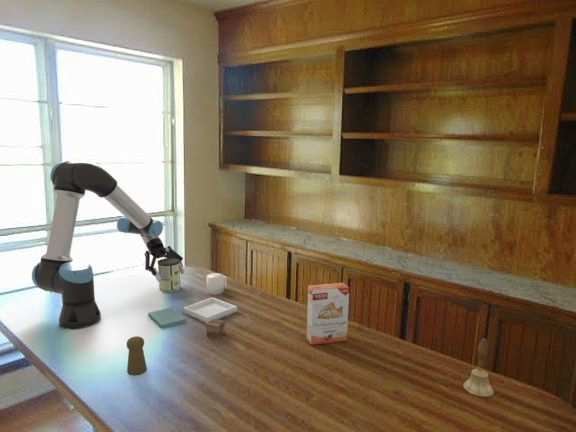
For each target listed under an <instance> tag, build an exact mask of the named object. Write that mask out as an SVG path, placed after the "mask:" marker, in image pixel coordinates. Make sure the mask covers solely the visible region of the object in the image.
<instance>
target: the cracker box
mask: <svg viewBox="0 0 576 432" xmlns="http://www.w3.org/2000/svg"><path fill="white" fill-rule="evenodd" d="M349 302H350V287H349V286H348V285H346V284H345V282H334V283H324V284H323V283H321V284H309V285H307V313H306V314H307V317H306V318H307V321H306V339H307V341H308V342H309V344H310V345H311V346H313V345H314V346H315V345H316V346H317V345H322V344H323V345H324V344H329V343H330V344H332V343H338V342H347V341H348V328H349V327H348V322H349V321H348V320H349V305H350V303H349Z"/></svg>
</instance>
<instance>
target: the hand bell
mask: <svg viewBox="0 0 576 432" xmlns="http://www.w3.org/2000/svg"><path fill="white" fill-rule="evenodd" d="M488 350H489V346H488V342H487V339H486V338H483V337H482V338H481V340H480V341H479V344H478V347H477V355H478V363H477V367H476V368H474V369H472V370H471V374H470V376H469V378H468V380H465V381H464V383H463V384H462V386H463V389H464V390H465V391H466V392H468V393H469V394H471V395H474V396H477V397H480V398H488V397H491V396H493V395H494V388H493V387H492V386H491V385H490V382H489V373H488V372H487V371H486V370H484V368H485V360H486V357H487V355H488Z"/></svg>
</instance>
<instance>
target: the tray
mask: <svg viewBox="0 0 576 432" xmlns="http://www.w3.org/2000/svg"><path fill="white" fill-rule="evenodd" d="M235 313H238V306H237V305H234V304H232V303H229V302H227V301H223V300H221V299H219V298H215V297H213V296H212V297H209V298H206V299H203V300H201V301H197V302H195V303H192V304H190V305H186V306H184V307H182V314H184V315H186V316H188V317H191V318H194V319H195V320H197V319H198V321H200V322H202V323H205V324H207V323H208V322H210V321H211V320H212V319H217V320H222V319H223V318H225V317H227V316H230V315H233V314H235Z"/></svg>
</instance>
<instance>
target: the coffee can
mask: <svg viewBox="0 0 576 432" xmlns="http://www.w3.org/2000/svg"><path fill="white" fill-rule="evenodd" d="M179 262H180V260H179V259H176V258H160V259H159V260H158V261H157V268H158V269H157V271H158V273H159V275H160V277H161V280H160V281H159V282H158V285H159V286H158V287H159V288H158V289H159V291H160V292H164V293H172V292H176V291H179V290H180V289H181V273H180V264H179Z"/></svg>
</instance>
